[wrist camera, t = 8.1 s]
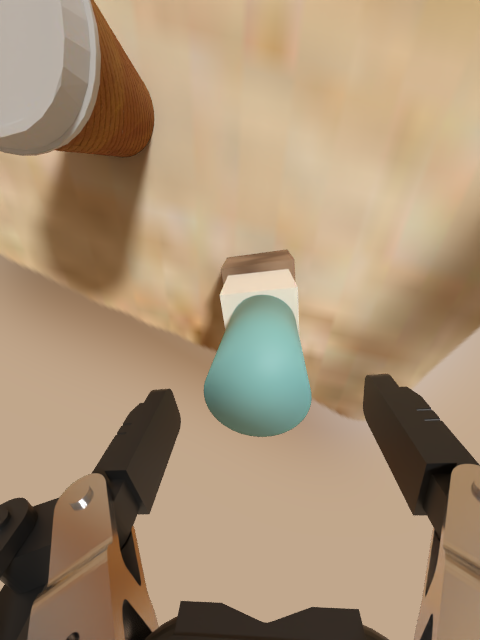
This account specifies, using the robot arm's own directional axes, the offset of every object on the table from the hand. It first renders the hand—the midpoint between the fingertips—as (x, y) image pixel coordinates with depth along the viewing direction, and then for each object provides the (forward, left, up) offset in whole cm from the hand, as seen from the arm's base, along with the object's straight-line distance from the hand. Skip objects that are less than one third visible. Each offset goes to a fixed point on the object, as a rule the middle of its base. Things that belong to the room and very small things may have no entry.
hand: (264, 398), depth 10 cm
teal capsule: (0, 0, -7) cm, 7 cm away
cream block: (0, 0, -12) cm, 12 cm away
